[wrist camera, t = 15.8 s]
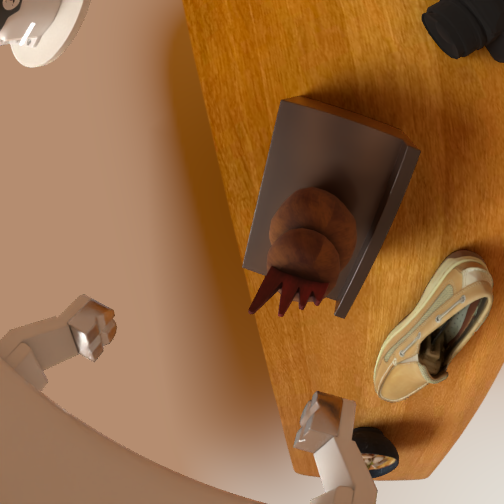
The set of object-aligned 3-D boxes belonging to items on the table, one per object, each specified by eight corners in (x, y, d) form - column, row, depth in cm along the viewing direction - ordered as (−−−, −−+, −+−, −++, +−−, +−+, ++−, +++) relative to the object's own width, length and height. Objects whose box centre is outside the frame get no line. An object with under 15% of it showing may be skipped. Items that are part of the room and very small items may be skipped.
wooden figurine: (273, 214, 30) (208, 318, 18) (306, 165, 27) (255, 249, 14) (331, 253, 30) (304, 376, 18) (368, 209, 27) (370, 325, 15)
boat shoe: (361, 376, 51) (354, 428, 42) (429, 234, 35) (448, 286, 26) (411, 386, 49) (411, 437, 40) (492, 254, 33) (520, 306, 24)
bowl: (411, 420, 54) (409, 460, 46) (387, 451, 63) (383, 485, 54) (337, 412, 58) (329, 453, 50) (324, 444, 67) (316, 477, 59)
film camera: (383, -16, 22) (391, -44, 15) (440, -46, 17) (459, -75, 9) (467, 92, 25) (499, 97, 18) (519, 60, 20) (558, 59, 13)
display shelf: (265, 229, 42) (234, 279, 32) (299, 95, 32) (274, 101, 22) (350, 259, 40) (344, 319, 31) (400, 129, 30) (421, 151, 21)
